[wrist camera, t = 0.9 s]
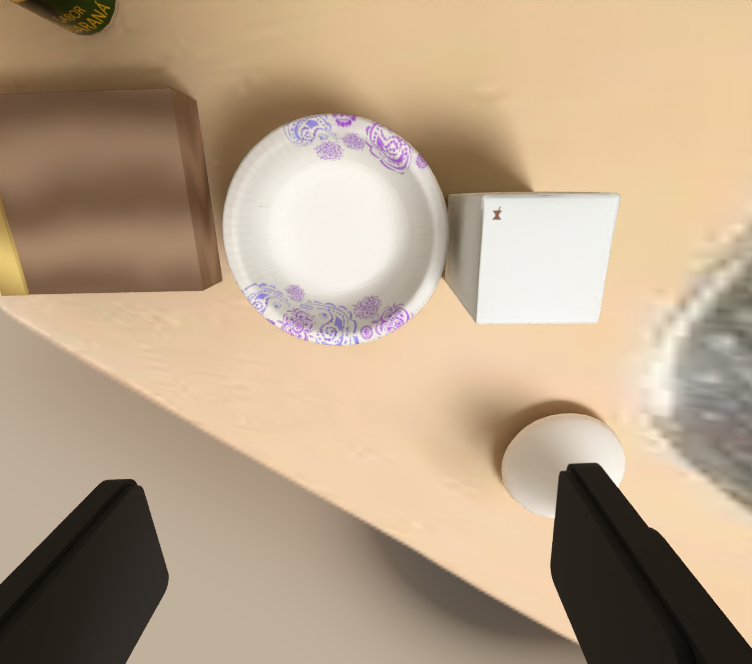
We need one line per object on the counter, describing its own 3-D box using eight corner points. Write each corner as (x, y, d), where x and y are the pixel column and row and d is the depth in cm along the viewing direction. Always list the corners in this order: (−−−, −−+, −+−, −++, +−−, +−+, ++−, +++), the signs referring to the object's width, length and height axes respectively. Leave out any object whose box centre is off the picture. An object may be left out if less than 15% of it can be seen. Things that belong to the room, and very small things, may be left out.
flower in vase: (481, 428, 40) (617, 765, 16) (598, 387, 38) (938, 696, 15) (521, 528, 44) (680, 922, 20) (629, 494, 42) (943, 881, 18)
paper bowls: (423, 113, 32) (434, 87, 24) (446, 303, 36) (462, 331, 29) (233, 150, 33) (187, 136, 25) (279, 329, 38) (252, 363, 30)
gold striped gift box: (-6, 108, 32) (-62, 95, 28) (196, 100, 32) (168, 86, 28) (44, 284, 37) (1, 295, 33) (222, 280, 36) (201, 291, 32)
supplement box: (442, 282, 36) (470, 326, 24) (447, 192, 33) (480, 190, 21) (528, 283, 36) (600, 327, 24) (539, 192, 33) (624, 190, 21)
